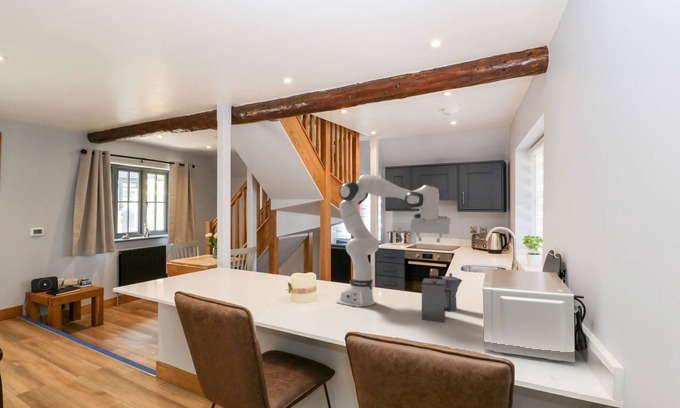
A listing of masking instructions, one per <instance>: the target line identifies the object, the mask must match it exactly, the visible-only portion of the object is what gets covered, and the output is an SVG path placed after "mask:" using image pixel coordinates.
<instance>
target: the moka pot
mask: <svg viewBox="0 0 680 408" xmlns="http://www.w3.org/2000/svg"><path fill="white" fill-rule="evenodd" d="M435 279H440V280H446V288H449V289H452V301H451V312H454V311H457V310H458V309H457V308H458V307H457V293H458V289H459V286H460V285H461V283H462V282H463V280H462V279H461V278H458V277H455V276H453V273H451V272H450V273H448V276H447V275H445V276H441V275H438V278H435ZM446 308H449V292H446Z"/></svg>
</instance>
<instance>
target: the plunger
mask: <svg viewBox="0 0 680 408" xmlns="http://www.w3.org/2000/svg"><path fill="white" fill-rule="evenodd" d="M438 276H439V270H438V269H437V268H430V270H429V279H433V282H435V278H438Z"/></svg>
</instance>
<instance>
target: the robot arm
mask: <svg viewBox="0 0 680 408" xmlns="http://www.w3.org/2000/svg"><path fill="white" fill-rule="evenodd" d="M338 193H339V197H340V198H341V199H342V201H341V202H340V203H339V205H338V208H339V213H340V216H341V220H342V221H343V222H342V223H343V224H344V227H345V230H346V231H347V233H348V234H350V235H351V236H352V238H351V239H349V240H348V241H347V242H346V244H345V251H346V252H347V254H348V255H349V256H350V259H351V262H352V269H353V272H352V273H353V276H352V278H351V279H349V283H350V284H349V285H348V286H346V287H345V288H344V289H343V290H342V291H341V292H340V297H339V298H337V299H336V304H339V305H346V306H352V307H356V308H357V307H358V308H360V307H367V306H368V307H369V306H372V305H374V304H375V303H376V302H375V298H374V293H373V288H374V279H373V265H372V264H371V263H370V261H369V257H368V256H369V255H372V254H374V253H376V252H377V251H378V250H379V249H380V242H379V240H378V239H377V237H375V236H374V235H372V233H371V231H369V229H368V228H367V226H366V225H365V223H364V220H363V218H362V216H361V213H360V211H359V209H358V205H361V204H362V203H363V202H364V201H365V200H366V199H367V198H368V196H369V194H370V195H372V196H375V197H381V198H396V199H401V200H403V201H404V204H405V206H406V207H408V208H409V209H419V210H421V211H420V212H417V213H413V214H412V219H411V221H410V225H409V231H410V232H411V233H416V237H417V238H418V241H419V242H422V241H423V239H422V237H421V236H420V233H422V234H423V233H425V234H437V235H439V237H438V238H436V243H440V242H441V238H442V237H443V235H449V234H450V224H451V219H450V217H449V216H446V215H439V211H440V210H439V204H440V192H439V187H438V186H436V185H430V184H423V185H422V186H421V187H419V188H417V189H415V190H410V189H407V188H404V187H400V186H398V185H396V184H394V183H392V182H391V181H389V180H387V179H385V178H383V177H380V176H378V175H373V174H370V173H369V174H368V173H366V174H365V173H364V174H362V175H360V177H359V178H358V179H357V181H356V182H355V181H350V182H347V183H343V184H342V185H340V187H339V190H338Z"/></svg>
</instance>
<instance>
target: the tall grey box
mask: <svg viewBox="0 0 680 408" xmlns="http://www.w3.org/2000/svg"><path fill="white" fill-rule="evenodd" d="M446 292H449V308H446ZM451 301H452V289H449V288H446V280H440V279H435V282H433V278H427V277H425V278H423V280H422V282H421V321H426V322H435V323H445V321H446V313H451V312H452V311H451Z"/></svg>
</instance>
